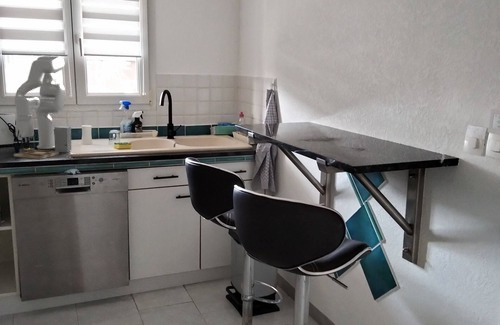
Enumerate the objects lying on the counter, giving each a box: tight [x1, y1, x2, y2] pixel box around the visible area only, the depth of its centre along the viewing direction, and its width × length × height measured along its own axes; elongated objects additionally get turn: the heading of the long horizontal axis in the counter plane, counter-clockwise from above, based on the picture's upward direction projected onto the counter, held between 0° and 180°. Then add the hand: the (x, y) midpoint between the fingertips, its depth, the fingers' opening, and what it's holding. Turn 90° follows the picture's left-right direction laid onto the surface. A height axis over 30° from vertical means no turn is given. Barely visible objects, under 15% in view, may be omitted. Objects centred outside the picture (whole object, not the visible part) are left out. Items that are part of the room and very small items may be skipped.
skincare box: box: [54, 125, 72, 153], centre depth 295 cm, size 8×7×16 cm
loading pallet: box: [13, 147, 60, 160], centre depth 284 cm, size 15×20×4 cm
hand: (26, 148), depth 285 cm, fingers closed
